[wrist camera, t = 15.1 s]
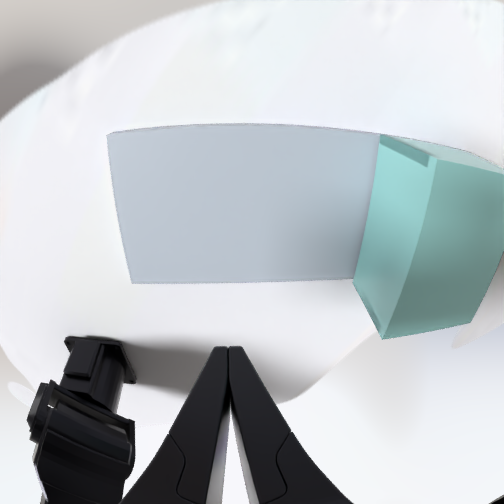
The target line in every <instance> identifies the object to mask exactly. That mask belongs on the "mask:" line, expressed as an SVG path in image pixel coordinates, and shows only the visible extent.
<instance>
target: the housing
mask: <svg viewBox="0 0 504 504" xmlns="http://www.w3.org/2000/svg"><path fill="white" fill-rule="evenodd" d="M503 252H504V169H503V168H501V167H499V166H497V165H495V164H493V163H491V162H489V161H487V160H485V159H483V158H481V157H479V156H477V155H474V154H472V153H470V152H467V151H463V150H459V149H455V148H450V147H446V146H442V145H437V144H433V143H428V142H423V141H418V140H413V139H407V138H402V137H396V136H390V135H384V134H380V140H379V148H378V155H377V163H376V169H375V176H374V182H373V188H372V194H371V200H370V206H369V211H368V216H367V221H366V226H365V231H364V236H363V241H362V245H361V250H360V254H359V259H358V263H357V267H356V271H355V275H354V279H353V284H354V286H355V288H356V290H357V292H358V294H359V296H360V297H361V299H362V301H363V303H364V305H365V307H366V309H367V311H368V313H369V315H370V317H371V319H372V321H373V322H374V324H375V326H376V328H377V330H378V332H379V334H380V336H381V338H382V340H383V339H389V338H395V337H401V336H407V335H413V334H419V333H424V332H429V331H434V330H439V329H444V328H449V327H454V326H457V325H462V324H467V323H470V322H471V321H472V319H473V317H474V315H475V313H476V311H477V309H478V307H479V306H480V304H481V302H482V300H483V298H484V296H485V293H486V291H487V289H488V287H489V285H490V283H491V281H492V278H493V276H494V274H495V272H496V269H497V267H498V265H499V262H500V260H501V257H502V255H503Z"/></svg>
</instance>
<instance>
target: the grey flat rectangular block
mask: <svg viewBox="0 0 504 504" xmlns="http://www.w3.org/2000/svg"><path fill="white" fill-rule="evenodd" d="M384 135H385V134H384ZM390 136H392V135H390ZM396 137H398V136H396ZM402 138H403V137H402ZM407 139H409V138H407ZM379 140H380V134H379V133H372V132H364V131H356V130H348V129H339V128H328V127H317V126H303V125H285V124H242V123H239V124H196V125H178V126H165V127H153V128H143V129H134V130H125V131H117V132H113V133H110V134H108V135H107V144H108V154H109V163H110V171H111V178H112V185H113V192H114V198H115V205H116V211H117V216H118V222H119V227H120V232H121V237H122V242H123V247H124V252H125V256H126V261H127V265H128V269H129V274H130V278H131V282H132V284H185V283H249V282H284V281H312V280H335V279H354V275H355V271H356V267H357V263H358V259H359V254H360V250H361V245H362V241H363V236H364V231H365V226H366V221H367V216H368V211H369V206H370V200H371V194H372V188H373V182H374V176H375V169H376V163H377V155H378V148H379ZM413 140H414V139H413ZM418 141H419V140H418ZM423 142H424V141H423ZM428 143H429V142H428ZM433 144H434V143H433ZM437 145H438V144H437ZM442 146H443V145H442ZM446 147H447V146H446ZM450 148H451V147H450ZM455 149H456V148H455ZM459 150H460V149H459ZM463 151H464V150H463Z"/></svg>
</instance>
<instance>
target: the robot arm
mask: <svg viewBox="0 0 504 504" xmlns="http://www.w3.org/2000/svg"><path fill="white" fill-rule="evenodd" d="M64 343H65V345H66V346H67V348H68V350H69V352H70V356H69V358H68V361H67V363H66V366H65V368H64V371H63V372H64V374H63V377H62V380H61V382H60V385H58V384H56V382H55V381H53V380H50V382H49V384H47V383H40V386H39V388H38V391H37V393H36V396H35V399H34V401H33V404H32V406H31V409H30V412H29V414H28V417H27V422H28V424H29V426H30V432H31V435H30V440H31V441H33V442H35V443H36V446H35V449H34V453H33V463H34V466H35V470H36V473H37V476H38V479H39V482H40V485H41V488H42V491H43V492H42V497H41V502H40V504H222V494H223V483H224V473H225V463H226V453H227V452H226V451H227V442H228V432H229V422H230V404H231V414H232V420H233V425H234V431H235V435H236V441H237V446H238V451H239V456H240V461H241V466H242V471H243V476H244V480H245V485H246V489H247V494H248V498H249V503H250V504H353V503H352V502H351V501H350V500H348V498H346V497H345V496H344V495H343V494H342V493H341V492H340V491H339V489H338V488H337V487H335V485H334V484H333V483H332V482H331V481H330V480H329V479H328V478H327V477H326V475H325V474H324V473H323V472H322V471H321V470H320V469H319V468H318V467H317V465H316V464H315V463H314V462H313V460H312V459H311V458H310V457H309V456H308V454H307V453H306V452H305V450H304V449H303V447H302V446H301V444H300V443H299V441H298V440H297V438H296V437H295V435H294V433H293V432H291V429H290V427H289V426H288V424H287V422H286V421H285V419H284V417H283V416H282V414H281V412H280V411H279V409H278V408H277V406H276V404H275V403H274V401H273V399H272V398H271V396H270V394H269V392H268V391H267V389H266V387H265V386H264V384H263V382H262V381H261V379H260V377H259V375H258V374H257V372H256V370H255V368H254V367H253V365H252V363H251V361H250V360H249V358H248V356H247V354H246V353H245V351H244V349H243V348H242V347H241V346H230V347H229V348H228V347H226V346H216V347H214V348H213V350H212V352H211V354H210V356H209V358H208V359H207V361H206V363H205V365H204V367H203V369H202V371H201V373H200V375H199V376H198V378H197V380H196V382H195V384H194V386H193V388H192V390H191V391H190V393H189V395H188V397H187V399H186V401H185V403H184V404H183V406H182V408H181V410H180V412H179V414H178V416H177V418H176V419H175V421H174V423H173V425H172V427H171V429H170V431H169V434H167V436H166V438H165V439H164V442H163V443H162V445H161V447H160V448H159V450H158V452H157V453H156V455H155V457H154V458H153V460H152V461H151V463H150V464H149V466H148V467H147V468H146V470H145V471H144V472H143V474H142V475H141V476H140V478H139V479H138V480H137V481H136V483H135V484H134V486H133V487H132V488H131V489H130V490H129V492H128V493H127V494H126V496H125V497H124V498H123V499H122V495H123V489H124V483H125V480H126V479H127V478H128V477H129V476H130V474H131V472H132V470H133V467H134V462H135V421H133V420H131V419H126V418H124V417H122V416H119V415H117V414H116V413H117V408H118V404H119V399H120V395H121V391H122V387H123V383H127V384H135V383H136V380H137V379H136V377H135V375H134V372H133V370H132V368H131V365H130V363H129V361H128V359H127V356H126V354H125V351H124V349H123V346H122V344H121V343H119V342H117V341H104V340H92V339H82V338H72V337H66V338H65V340H64ZM48 405H50V406H52V407H54V408H51V407H49V406H48ZM489 504H504V495H502V496H501V497H499V498H497V499H496V500H494V501H492V502H491V503H489Z"/></svg>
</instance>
